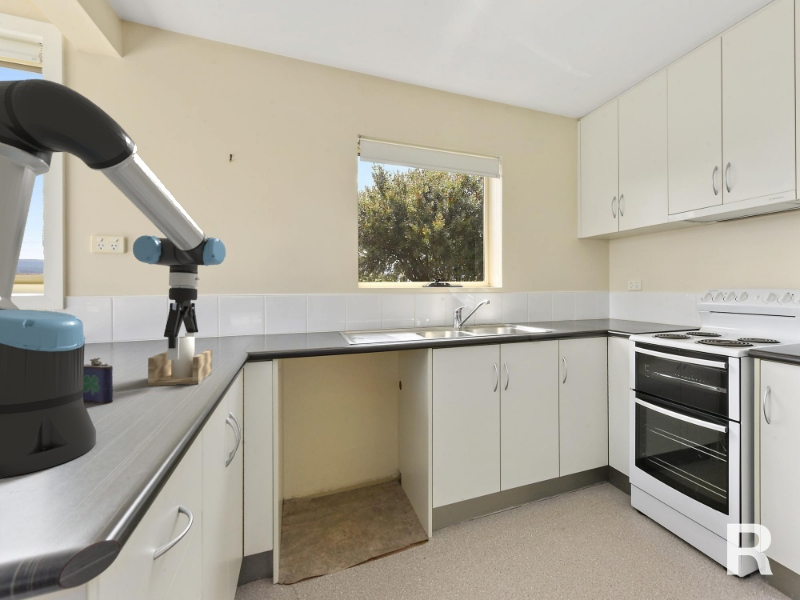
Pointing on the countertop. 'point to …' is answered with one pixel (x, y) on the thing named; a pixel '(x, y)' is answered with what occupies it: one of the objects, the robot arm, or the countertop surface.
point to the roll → (183, 359)
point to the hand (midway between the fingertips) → (181, 356)
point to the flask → (97, 382)
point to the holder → (162, 369)
